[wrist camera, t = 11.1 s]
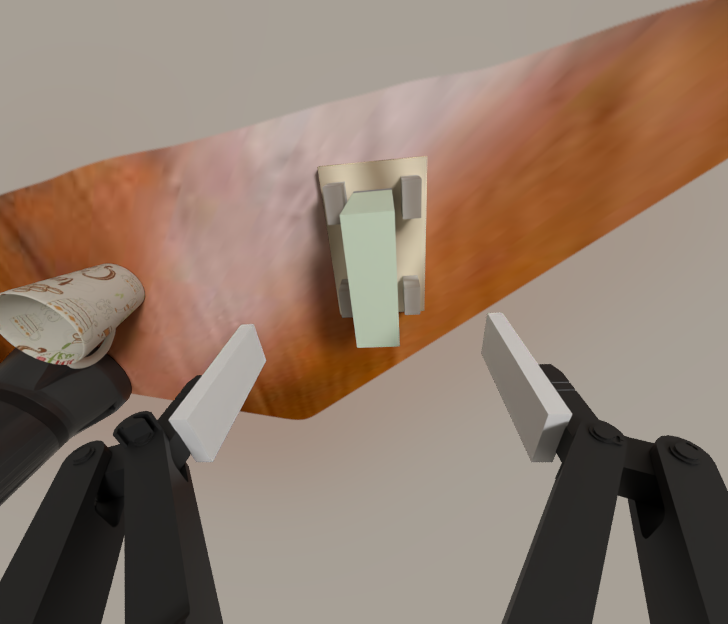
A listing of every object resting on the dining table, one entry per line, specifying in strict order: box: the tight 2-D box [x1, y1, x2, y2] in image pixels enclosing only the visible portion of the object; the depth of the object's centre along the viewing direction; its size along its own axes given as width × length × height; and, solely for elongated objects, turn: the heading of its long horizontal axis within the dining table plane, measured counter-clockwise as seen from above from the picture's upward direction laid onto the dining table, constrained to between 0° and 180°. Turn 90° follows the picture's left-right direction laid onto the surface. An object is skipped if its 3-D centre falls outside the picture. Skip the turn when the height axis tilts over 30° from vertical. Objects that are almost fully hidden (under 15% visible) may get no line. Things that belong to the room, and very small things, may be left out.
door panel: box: [340, 188, 400, 348], centre depth 26 cm, size 4×11×10 cm, turn 5°
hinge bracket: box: [317, 156, 427, 318], centre depth 29 cm, size 10×16×4 cm, turn 5°
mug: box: [0, 264, 145, 369], centre depth 33 cm, size 8×13×10 cm, turn 165°
